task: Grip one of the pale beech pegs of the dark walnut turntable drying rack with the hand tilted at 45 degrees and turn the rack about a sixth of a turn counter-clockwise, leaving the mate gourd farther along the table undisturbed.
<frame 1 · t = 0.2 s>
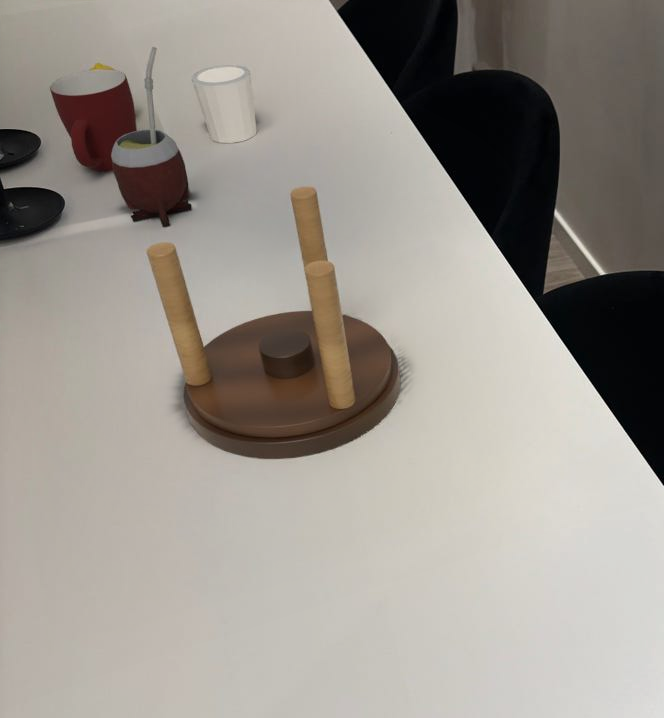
rack base: (295, 391, 78), on the table
mate gourd: (164, 214, 103), on the table
mug: (114, 178, 110), on the table
rack turntable: (277, 308, 72), point 8 cm above the table, hinge at 0.0°
lemon: (118, 132, 120), on the table
shot glass: (234, 135, 118), on the table
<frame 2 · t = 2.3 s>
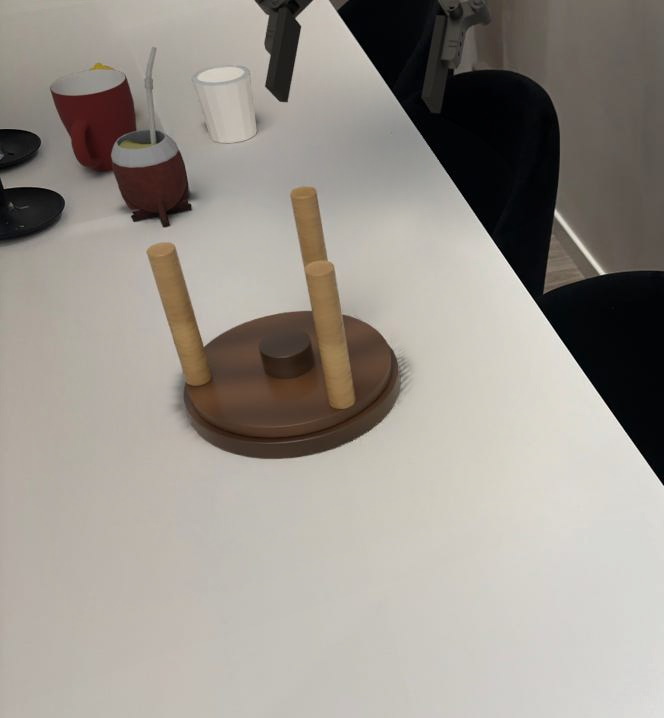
hand: (351, 100, 78), 17 cm above the table, tool tilted 45°, fingers open, 13 cm apart
nothing on the table moved.
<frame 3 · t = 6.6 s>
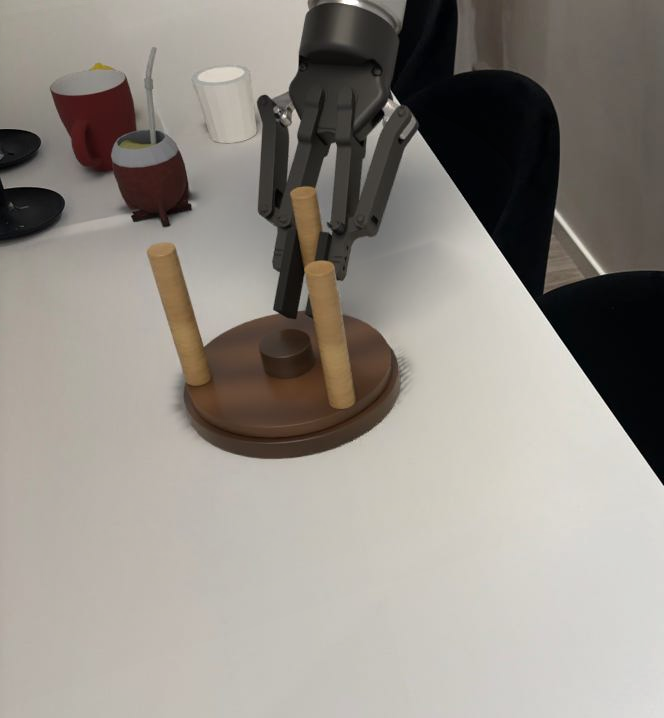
hand: (300, 316, 76), 5 cm above the table, tool tilted 45°, fingers closed on rack turntable, 2 cm apart
rack turntable: (277, 308, 72), point 8 cm above the table, hinge at 0.0°, touching gripper
everything else where it was.
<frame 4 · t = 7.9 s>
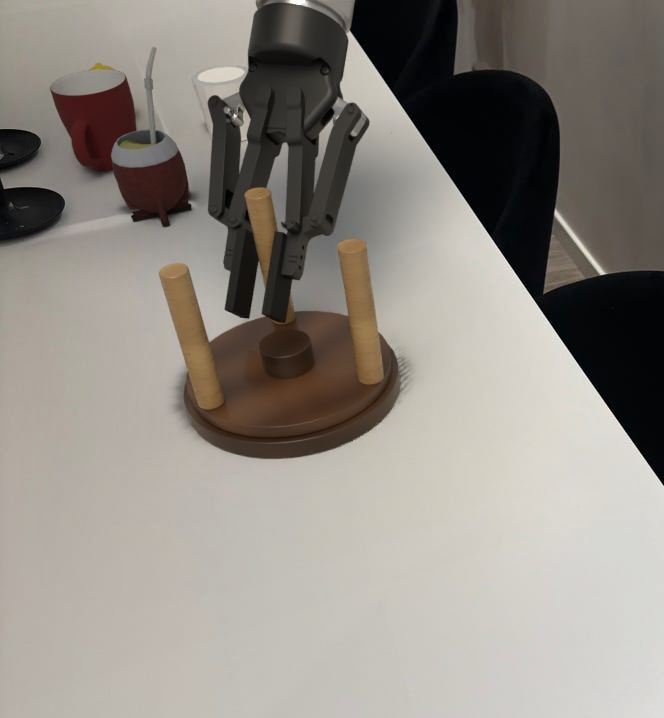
hand: (255, 315, 77), 5 cm above the table, tool tilted 45°, fingers open, 2 cm apart
rack turntable: (277, 308, 72), point 8 cm above the table, hinge at 29.2°, touching gripper
everything else where it was.
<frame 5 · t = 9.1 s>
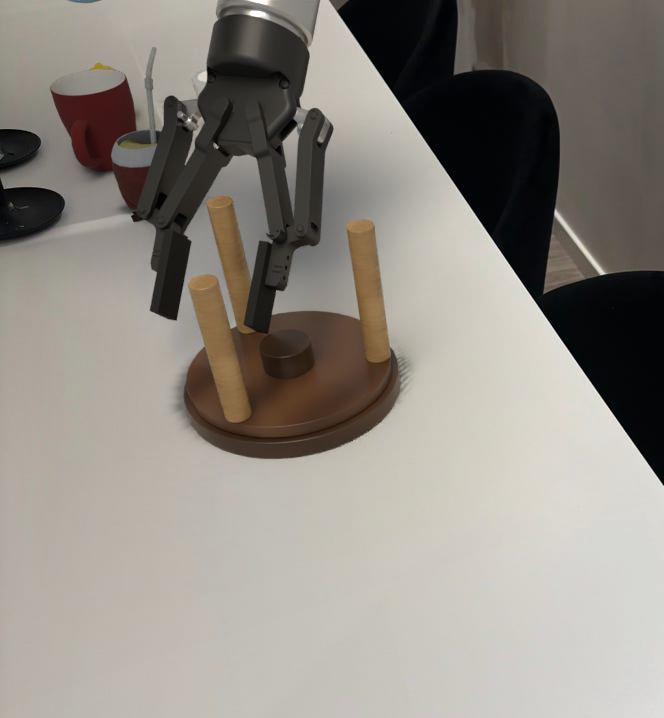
hand: (209, 322, 75), 6 cm above the table, tool tilted 45°, fingers open, 7 cm apart
rack turntable: (277, 308, 72), point 8 cm above the table, hinge at 53.4°, touching gripper
everything else where it was.
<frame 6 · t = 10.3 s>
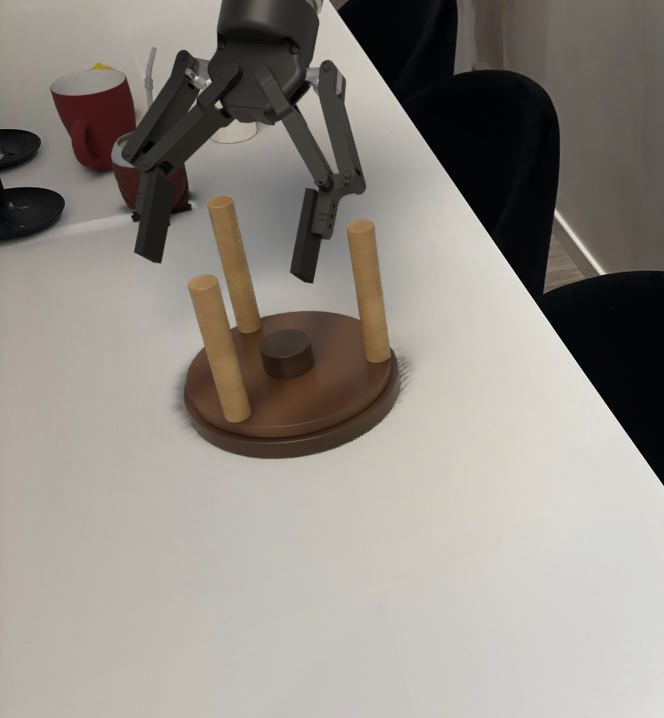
hand: (222, 268, 76), 8 cm above the table, tool tilted 45°, fingers open, 13 cm apart
rack turntable: (277, 308, 72), point 8 cm above the table, hinge at 53.2°
everything else where it was.
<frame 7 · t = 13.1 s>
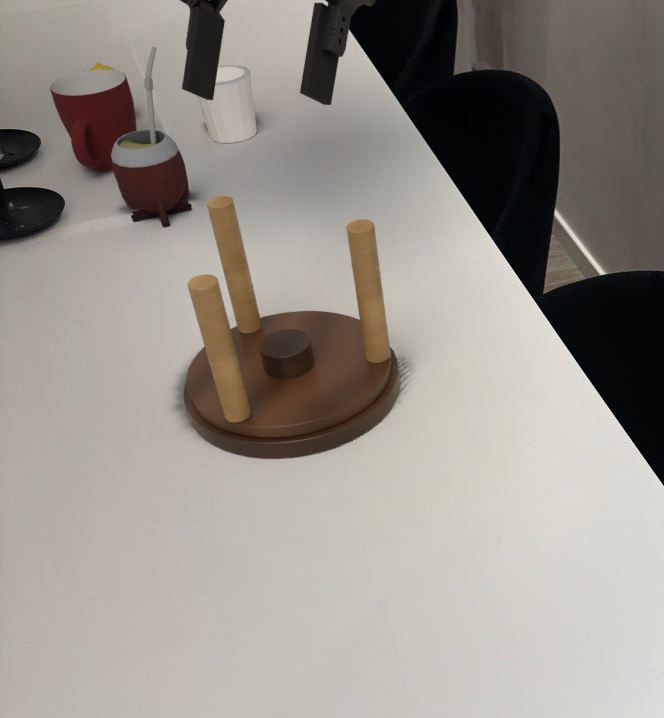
hand: (253, 97, 78), 17 cm above the table, tool tilted 35°, fingers open, 13 cm apart
nothing on the table moved.
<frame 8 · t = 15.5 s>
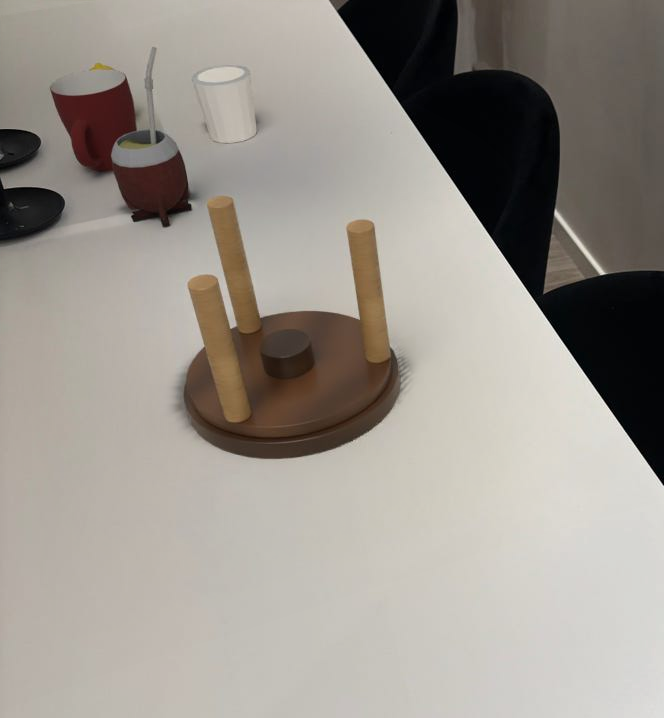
nothing on the table moved.
at the end: rack turntable at +53° (first picture: +0°); mate gourd moved 0.2 cm from its start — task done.
